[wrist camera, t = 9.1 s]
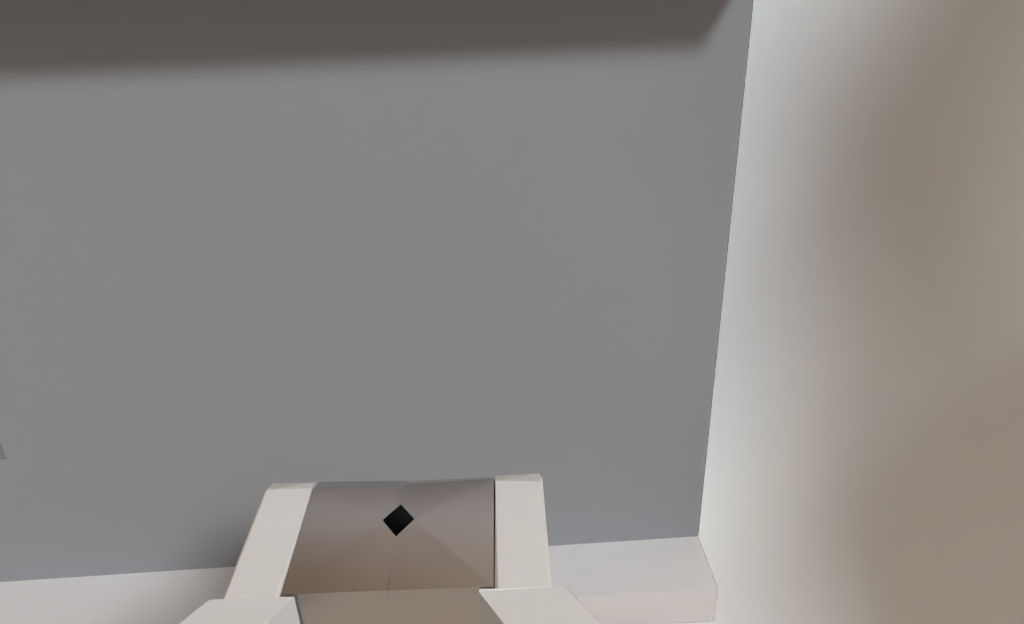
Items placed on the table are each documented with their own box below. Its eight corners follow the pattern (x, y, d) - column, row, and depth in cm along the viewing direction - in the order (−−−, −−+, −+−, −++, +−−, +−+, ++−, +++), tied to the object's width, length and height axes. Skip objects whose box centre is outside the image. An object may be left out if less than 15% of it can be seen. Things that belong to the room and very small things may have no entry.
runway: (708, -114, 14) (805, -128, 10) (664, 485, 21) (713, 621, 17) (-543, -73, 13) (-971, -70, 9) (-186, 538, 20) (-352, 695, 16)
